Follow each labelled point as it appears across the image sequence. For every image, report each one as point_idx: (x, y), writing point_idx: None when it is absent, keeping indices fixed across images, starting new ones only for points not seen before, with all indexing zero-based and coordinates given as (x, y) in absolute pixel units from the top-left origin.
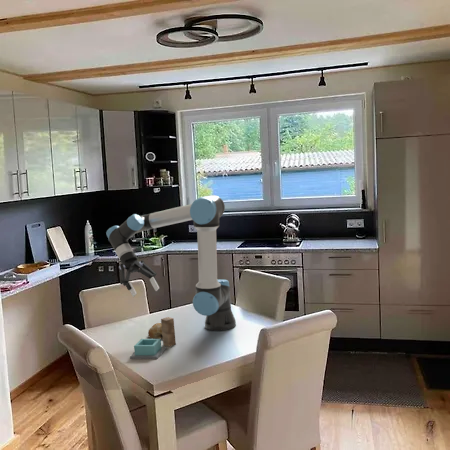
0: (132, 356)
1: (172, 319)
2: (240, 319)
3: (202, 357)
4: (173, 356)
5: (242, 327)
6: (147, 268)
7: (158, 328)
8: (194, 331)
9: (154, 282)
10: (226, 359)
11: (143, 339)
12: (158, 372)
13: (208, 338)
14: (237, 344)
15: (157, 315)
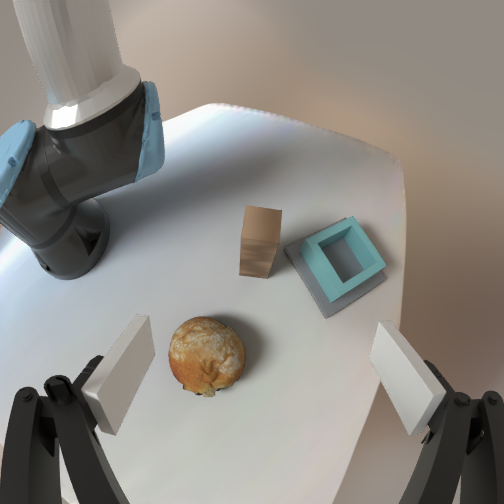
0: (382, 272)
1: (251, 207)
2: None
3: (276, 147)
4: (310, 198)
5: None
6: (34, 496)
7: (223, 334)
8: (127, 276)
9: (125, 360)
10: (259, 115)
11: (340, 284)
12: (378, 176)
13: (165, 203)
14: (180, 135)
15: (69, 483)
